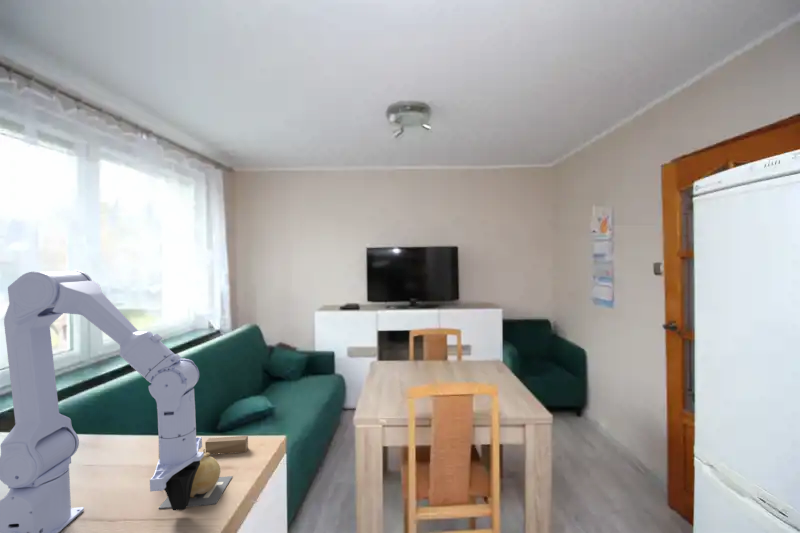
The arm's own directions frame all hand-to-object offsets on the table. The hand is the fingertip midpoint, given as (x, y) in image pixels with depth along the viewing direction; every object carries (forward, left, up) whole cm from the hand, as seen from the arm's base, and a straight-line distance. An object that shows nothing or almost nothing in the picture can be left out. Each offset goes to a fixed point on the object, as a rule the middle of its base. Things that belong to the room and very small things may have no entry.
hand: (180, 507), depth 68 cm
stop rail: (+23, 0, -1) cm, 23 cm away
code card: (+7, 0, -1) cm, 7 cm away
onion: (+7, 0, -1) cm, 7 cm away
